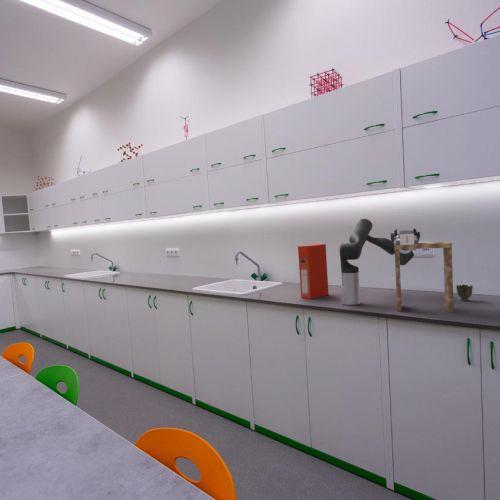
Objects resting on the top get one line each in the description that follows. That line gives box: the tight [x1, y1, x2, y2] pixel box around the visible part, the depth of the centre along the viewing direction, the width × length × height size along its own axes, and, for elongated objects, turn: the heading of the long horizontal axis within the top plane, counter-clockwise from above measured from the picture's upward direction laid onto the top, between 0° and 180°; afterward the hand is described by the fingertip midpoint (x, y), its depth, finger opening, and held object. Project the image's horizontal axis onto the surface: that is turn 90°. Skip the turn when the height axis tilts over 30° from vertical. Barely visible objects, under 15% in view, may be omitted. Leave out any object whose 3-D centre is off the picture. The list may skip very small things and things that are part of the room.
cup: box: [455, 284, 474, 302], centre depth 186 cm, size 8×7×8 cm
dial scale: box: [394, 234, 420, 245], centre depth 174 cm, size 10×13×5 cm
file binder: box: [297, 243, 330, 300], centre depth 221 cm, size 8×17×32 cm, turn 131°
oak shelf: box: [394, 241, 455, 314], centre depth 173 cm, size 24×13×32 cm, turn 68°
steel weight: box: [398, 229, 413, 237], centre depth 180 cm, size 6×20×4 cm, turn 158°
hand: (405, 230), depth 185 cm, fingers open, 8 cm apart
